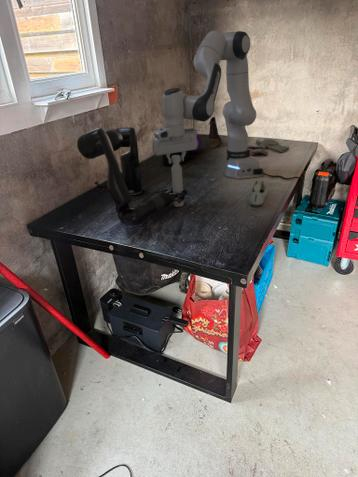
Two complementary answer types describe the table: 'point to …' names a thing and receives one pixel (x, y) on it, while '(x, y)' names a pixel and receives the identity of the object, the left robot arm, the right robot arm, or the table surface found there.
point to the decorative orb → (197, 143)
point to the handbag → (165, 159)
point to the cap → (176, 158)
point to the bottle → (177, 181)
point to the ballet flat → (258, 193)
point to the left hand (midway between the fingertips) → (181, 190)
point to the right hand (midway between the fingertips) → (176, 162)
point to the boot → (214, 134)
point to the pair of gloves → (267, 144)
